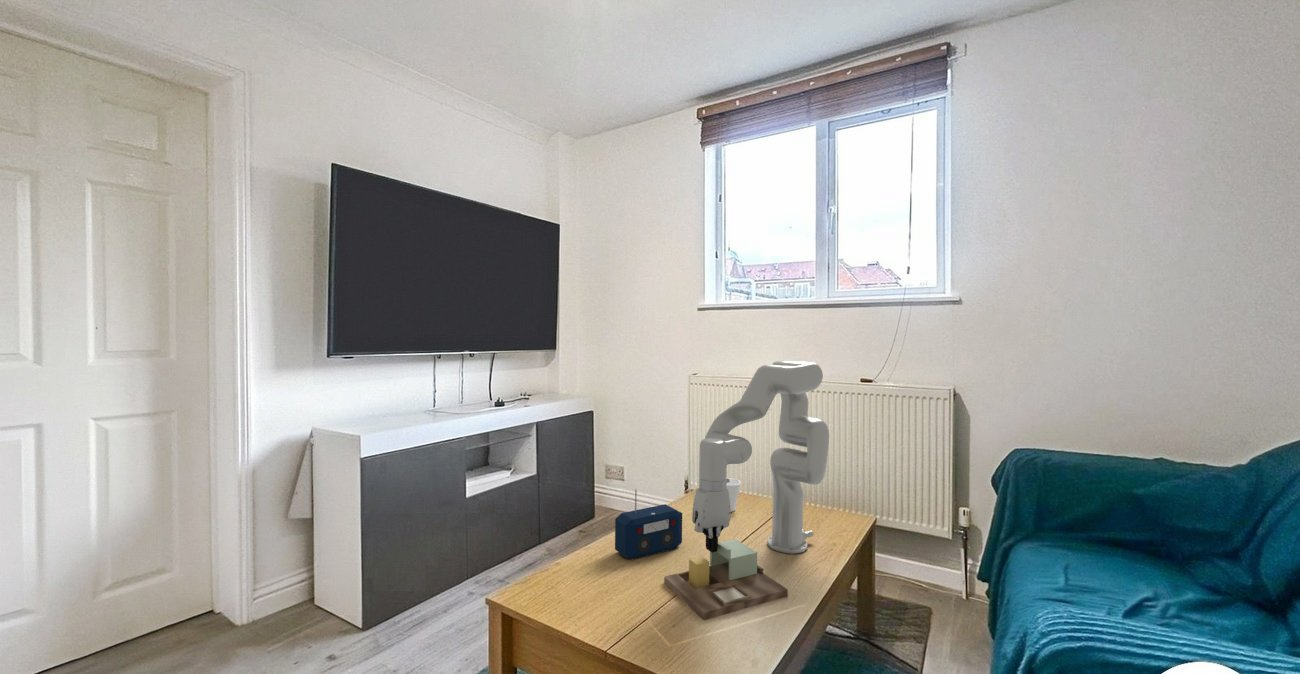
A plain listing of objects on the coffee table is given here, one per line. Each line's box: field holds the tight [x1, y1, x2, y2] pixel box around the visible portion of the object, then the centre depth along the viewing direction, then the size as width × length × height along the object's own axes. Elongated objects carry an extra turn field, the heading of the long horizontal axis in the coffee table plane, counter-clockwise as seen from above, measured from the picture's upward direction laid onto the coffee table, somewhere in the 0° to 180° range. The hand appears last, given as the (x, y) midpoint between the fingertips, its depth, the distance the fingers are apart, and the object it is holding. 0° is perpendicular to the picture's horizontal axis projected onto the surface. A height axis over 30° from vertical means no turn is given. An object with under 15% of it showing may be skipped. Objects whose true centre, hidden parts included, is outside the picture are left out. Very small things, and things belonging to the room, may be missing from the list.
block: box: [688, 555, 710, 589], centre depth 142 cm, size 4×4×7 cm
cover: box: [709, 538, 758, 580], centre depth 147 cm, size 10×10×8 cm
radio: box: [614, 488, 683, 560], centre depth 164 cm, size 21×9×20 cm, turn 122°
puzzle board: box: [663, 562, 789, 621], centre depth 140 cm, size 26×20×3 cm
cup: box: [726, 477, 742, 513], centre depth 202 cm, size 10×10×11 cm
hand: (711, 550), depth 144 cm, fingers closed
